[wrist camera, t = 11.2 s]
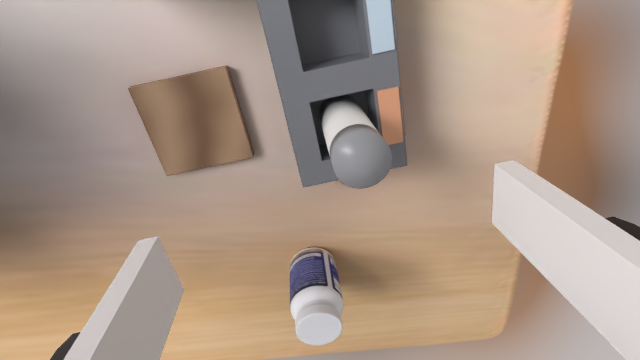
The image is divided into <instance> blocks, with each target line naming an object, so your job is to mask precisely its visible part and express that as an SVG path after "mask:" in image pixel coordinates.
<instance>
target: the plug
mask: <svg viewBox="0 0 640 360" xmlns="http://www.w3.org/2000/svg"><path fill="white" fill-rule="evenodd" d="M319 118H320V122H321V126H322V129H323V133H324V137H325V140H326V144H327V148H328V151H329V155H330V159H331V162H332V166H333V170H334V173H335V175H336V176H337V178H338V179H339V180H340V181H341V182H342V183H343V184H345V185H347V186H349V187H352V188H367V187H371V186H373V185H375V184H377V183H378V182H380V181H381V180H382V179H383V178H384V177H385V176H386V175H387V173H388V171H389V169H390V167H391V163H392V154H391V150H390V148H389V146H388V144H387V143H386V141H385V140H384V139H383V137H382V136H381V135H380V133H379V132H378V131H377V129H376V128H375V127H374V125H373V124H372V123H371V121H370V120H369V118H368V117H367V116H366V114H365V113H364V112H363V110H362V109H361V108H360V106H359V105H358V104H357V102H356V101H355V100H354V99H353V98H352V97H350V96H348V95H341V96H336V97H332V98H327V99H326V100H325V101H324V102H323V104H322V106H321V108H320V112H319Z"/></svg>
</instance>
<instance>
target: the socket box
mask: <svg viewBox="0 0 640 360" xmlns="http://www.w3.org/2000/svg"><path fill="white" fill-rule="evenodd" d="M257 4H258V8H259V12H260V16H261V20H262V24H263V28H264V32H265V36H266V40H267V44H268V48H269V52H270V56H271V60H272V64H273V69H274V73H275V77H276V81H277V85H278V89H279V93H280V97H281V101H282V105H283V109H284V113H285V117H286V121H287V125H288V129H289V133H290V137H291V141H292V145H293V149H294V153H295V157H296V161H297V165H298V169H299V173H300V177H301V181H302V185H303V187H308V186H313V185H317V184H322V183H327V182H331V181H336V180H339V179H338V178H337V176H336V175H335V173H334V170H333V166H332V162H331V159H330V155H329V151H328V148H327V144H326V140H325V137H324V133H323V129H322V126H321V122H320V118H319V112H320V108H321V106H322V104H323V102H324V101H325V100H326V99H327V98H332V97H336V96H341V95H348V96H350V97H352V98H353V99H354V100H355V101H356V102H357V104H358V105H359V106H360V108H361V109H362V110H363V112H364V113H365V114H366V116H367V117H368V118H369V120H370V121H371V123H372V124H373V125H374V127H375V128H376V129H377V131H378V132H379V133H380V135H381V136H382V137H383V139H384V140H385V141H386V143H387V144H388V146H389V148H390V150H391V154H392V163H391V167H390V169H392V168H397V167H402V166H406V165H407V158H406V147H405V136H404V135H405V128H404V116H403V105H402V94H401V87H400V80H399V69H398V58H397V47H396V44H397V38H396V27H395V15H394V4H393V0H257Z"/></svg>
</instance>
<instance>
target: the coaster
mask: <svg viewBox="0 0 640 360" xmlns="http://www.w3.org/2000/svg"><path fill="white" fill-rule="evenodd" d="M128 90H129V92H130V94H131V96H132V99H133V101H134V103H135V105H136V108H137V110H138V112H139V114H140V117H141V119H142V121H143V123H144V126H145V128H146V130H147V132H148V135H149V137H150V139H151V141H152V144H153V146H154V148H155V150H156V153H157V155H158V157H159V159H160V162H161V164H162V166H163V168H164V171H165V173H166V175H167V176H169V175H174V174H179V173H183V172H188V171H193V170H197V169H202V168H207V167H211V166H216V165H220V164H225V163H230V162H234V161H239V160H244V159H248V158H253V156H254V152H253V149H252V146H251V143H250V139H249V136H248V133H247V130H246V126H245V123H244V120H243V117H242V113H241V110H240V107H239V104H238V100H237V97H236V94H235V91H234V87H233V84H232V81H231V77H230V74H229V71H228V68H227V66H223V67H218V68H213V69H209V70H204V71H200V72H195V73H191V74H186V75H181V76H177V77H172V78H168V79H163V80H159V81H154V82H150V83H145V84H140V85H136V86H132V87H130V88H128Z"/></svg>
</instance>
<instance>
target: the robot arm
mask: <svg viewBox="0 0 640 360" xmlns="http://www.w3.org/2000/svg"><path fill="white" fill-rule="evenodd" d="M492 224H493V225H494V226H495V227H496V228H497V229H498V230H499V231H500V232H501V233H502V234H503V235H504V236H505V237H506V238H507V239H508V240H509V241H510V242H511V243H512V244H513V245H514V246H515V247H516V248H517V249H518V250H519V251H520V252H521V253H522V254H523V255H524V256H525V257H526V258H527V259H528V260H529V261H530V262H531V263H532V264H533V265H534V266H535V267H536V268H537V269H538V271H540V272H541V274H542V275H543V276H544V277H545V278H546V279H547V280H549V282H550V283H551V284H552V285H553V286H554V287H555V288H556V289H557V290H558V291H559V292H560V293H561V294H562V295H563V296H564V297H565V298H566V299H567V300H568V301H569V302H570V303H571V304H572V305H573V306H574V307H575V308H576V309H577V310H578V311H579V312H580V313H581V314H582V315H583V316H584V317H585V318H586V319H587V320H588V321H589V322H590V323H591V324H592V325H593V326H594V327H595V328H596V329H597V330H598V332H599V333H600V334H601V335H602V336H603V337H604V338H605V339H606V340H607V341H608V342H609V343H610V344H611V345H612V346H613V347H614V348H615V349H616V350H617V351H618V352H619V353H620V354H621V355H622V356H623V357H624V358H625V359H626V360H640V227H638V226H637V225H635V224H632V223H629V222H627V221H624V220H621V219H618V218H616V217H609V218H604V217H602V216H600V215H599V214H597V213H596V212H594V211H593V210H591V209H590V208H588V207H586V206H585V205H583V204H582V203H580V202H579V201H577V200H576V199H574V198H573V197H571V196H569V195H568V194H566V193H565V192H563V191H562V190H560V189H559V188H557V187H555V186H554V185H552V184H551V183H549V182H548V181H546V180H545V179H543V178H541V177H540V176H538V175H537V174H535V173H534V172H532V171H531V170H529V169H528V168H526V167H525V166H523V165H521V164H520V163H518V162H517V161H515V160H511V161H507V162H502V163H497V164H495V168H494V189H493V210H492ZM183 291H184V288H183V286H182V284H181V282H180V280H179V278H178V275H177V273H176V271H175V269H174V267H173V265H172V263H171V261H170V259H169V257H168V255H167V253H166V251H165V249H164V247H163V245H162V243H161V241H160V239H159V237H158V236H157V237H152V238H147V239H143V240H138V242H137V243H136V245H135V246H134V248H133V250H132V251H131V253H130V254H129V256H128V258H127V259H126V261H125V262H124V264H123V266H122V267H121V269H120V270H119V272H118V274H117V275H116V277H115V278H114V280H113V282H112V283H111V285H110V286H109V288H108V289H107V291H106V293H105V294H104V296H103V297H102V299H101V301H100V302H99V304H98V305H97V307H96V309H95V310H94V312H93V313H92V315H91V317H90V318H89V320H88V321H87V323H86V325H85V326H84V328H83V329H82V331H81V332H79V333H74V334H72V335H71V336H70V337H69V338H68V339H67V340H66V341H65V342H64V343H63V344H62V345H61V346H60V347H59V348H58V349H57V350H56V352H55V353H54V355H53V356H52V358H51V359H50V360H159V359H160V357H161V354H162V351H163V348H164V345H165V342H166V340H167V337H168V334H169V331H170V328H171V325H172V323H173V320H174V317H175V314H176V311H177V308H178V306H179V303H180V300H181V297H182V294H183Z"/></svg>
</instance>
